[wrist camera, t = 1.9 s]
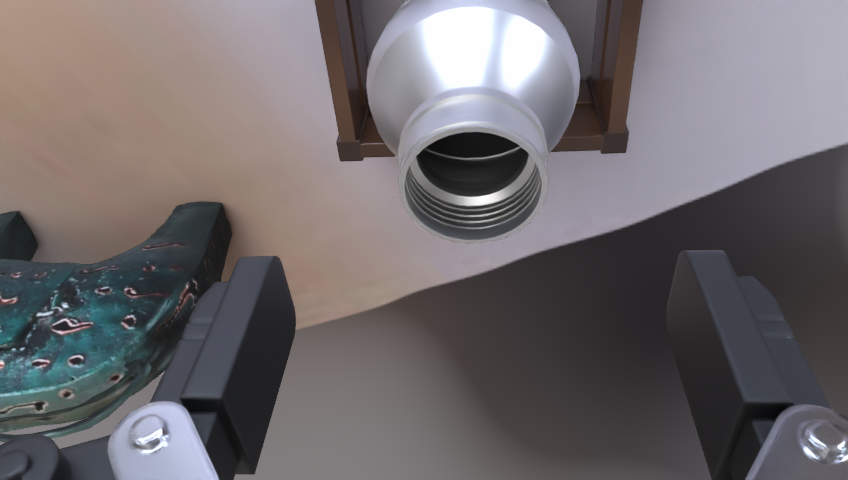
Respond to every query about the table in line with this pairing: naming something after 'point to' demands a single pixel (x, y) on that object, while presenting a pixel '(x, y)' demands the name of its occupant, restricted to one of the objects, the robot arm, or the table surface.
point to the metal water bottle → (473, 110)
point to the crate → (594, 111)
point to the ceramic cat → (98, 318)
